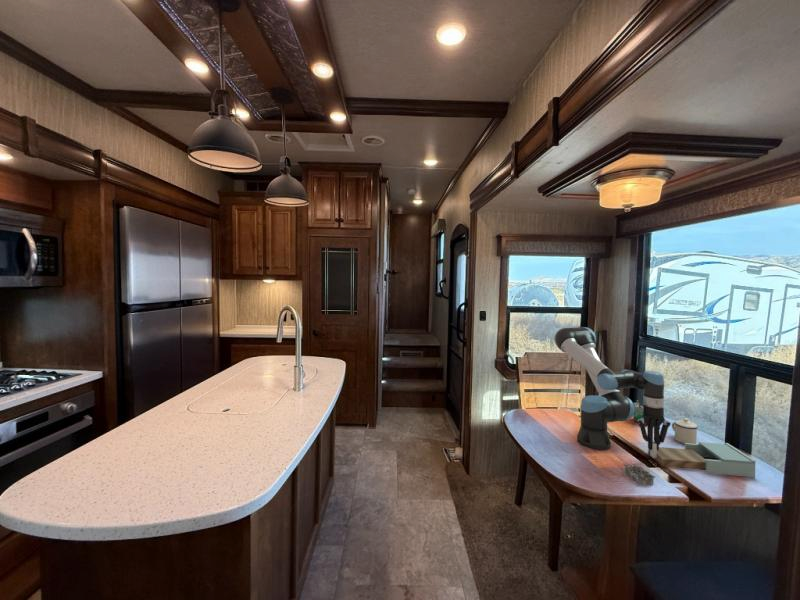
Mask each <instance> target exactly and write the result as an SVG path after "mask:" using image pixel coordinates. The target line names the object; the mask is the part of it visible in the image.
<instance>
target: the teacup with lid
mask: <svg viewBox="0 0 800 600" xmlns="http://www.w3.org/2000/svg"><path fill="white" fill-rule="evenodd" d="M671 428H672V431H673V432H674V440H675V441H677V442H679V443H681V444H684V445H685V443H690V444H698V443H697V440H698V439H697V434H698V428H699V427H698V425H697V424H696V423H694V422H692V421H690V420H689V419H688V418H686V417H685V418H683V419H678V420H675V421H674V422H672V423H671Z"/></svg>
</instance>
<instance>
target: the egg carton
mask: <svg viewBox="0 0 800 600" xmlns="http://www.w3.org/2000/svg"><path fill="white" fill-rule="evenodd" d="M622 465H623V466H624V469H623V473H624V475H626V476H629V478H630V479H631V480H634V481H635V483H636V484H638V485H641V486H646V484H647V485H650V486H654V483H655V482H654V480H655V478H656V476H655V475H653V474H652V473H650V472H649V471H648V470H646V469H645V468H644V467H643V466H641V465H630V466H629V467H628V465H627V464H625V463H622ZM633 472H635V473H637V474H635V473H633Z"/></svg>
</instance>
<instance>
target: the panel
mask: <svg viewBox="0 0 800 600" xmlns="http://www.w3.org/2000/svg"><path fill="white" fill-rule="evenodd" d="M647 448H648V447H647ZM647 451H648V452H647V453H648V455H649V456H650V457H651V458H652V459H654V460H655V462H657V464H658V465H659V466H661V467H663V468H671V469H672V468H673V469H683V470H684V469H685V470H694V471H695V470H696V471H706V458H705V457H701V456H700V455H699V454H697V453H696V452H695V451H693V450H692V449H685V448H676V447H665V446H664V447H663V446H662V447H661V446H659V450H657V458H653V457H652V456H651V455H650V449H649V448H648V450H647Z"/></svg>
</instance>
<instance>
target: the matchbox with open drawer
mask: <svg viewBox="0 0 800 600" xmlns="http://www.w3.org/2000/svg"><path fill="white" fill-rule="evenodd" d="M684 449H692V450H693V451H695V452H696V453H697V454H699V455H700V456H701V457H703V458H705V460H706V470H705V472H706V473H707V474H716V475H729V476H738V477H750V478H756V464H757V463H756V459H753V458H751V456H749V455H747V454H746V453H744V452H743V451H741V450H739V449H738V448H736V447H735V446H733V445H731V443H728V442H725V443H715V442H705V441H704V442H702V441H699V442H698V443H696V444H690V443H685V444H684ZM708 458H710V459H708ZM712 458H713V459H712Z"/></svg>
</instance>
